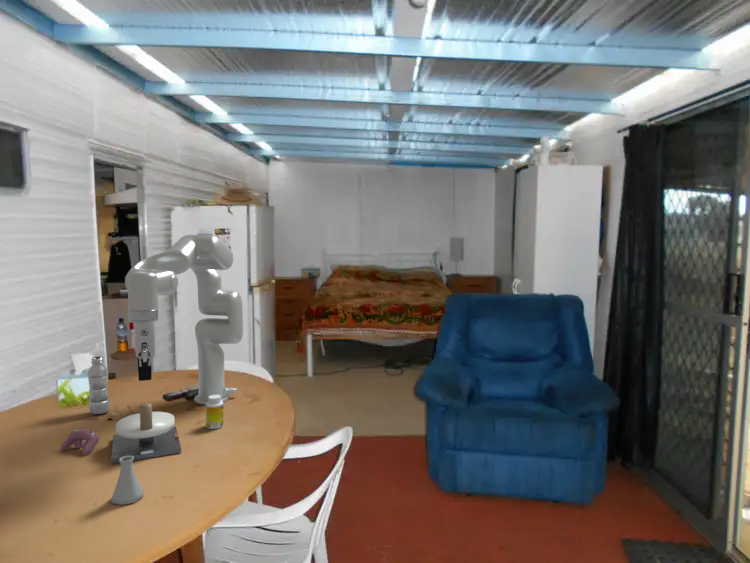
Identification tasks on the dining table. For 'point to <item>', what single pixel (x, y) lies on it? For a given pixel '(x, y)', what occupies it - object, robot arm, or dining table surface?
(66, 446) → the video game controller
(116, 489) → the flask
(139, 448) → the mount
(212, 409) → the supplement bottle
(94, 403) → the plastic bottle
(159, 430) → the white piece
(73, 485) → the dining table surface
